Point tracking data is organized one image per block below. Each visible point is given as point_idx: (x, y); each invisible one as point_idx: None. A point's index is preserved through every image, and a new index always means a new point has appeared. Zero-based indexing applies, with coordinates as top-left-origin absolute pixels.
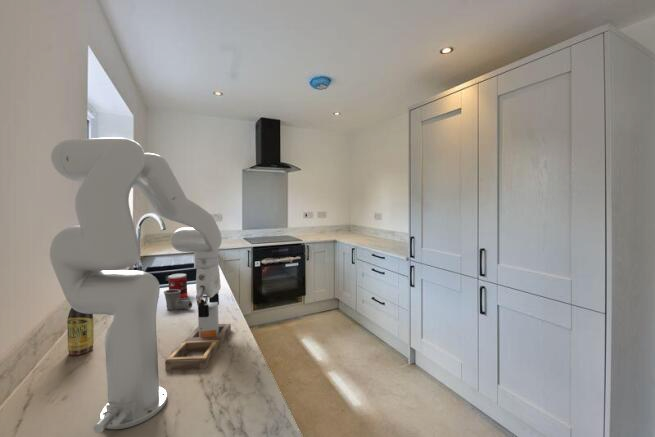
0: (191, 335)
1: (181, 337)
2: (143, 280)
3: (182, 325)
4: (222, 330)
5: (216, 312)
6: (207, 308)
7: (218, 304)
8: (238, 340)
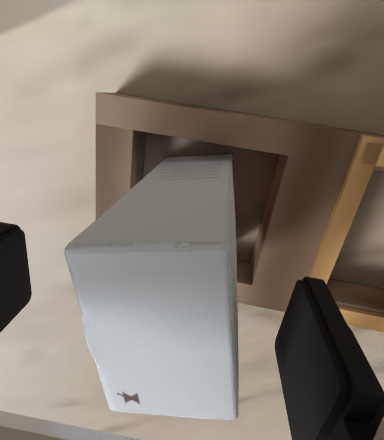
0: None
1: None
2: None
3: (48, 327)
4: (198, 133)
5: (230, 215)
6: (355, 355)
7: (13, 226)
8: (270, 9)
